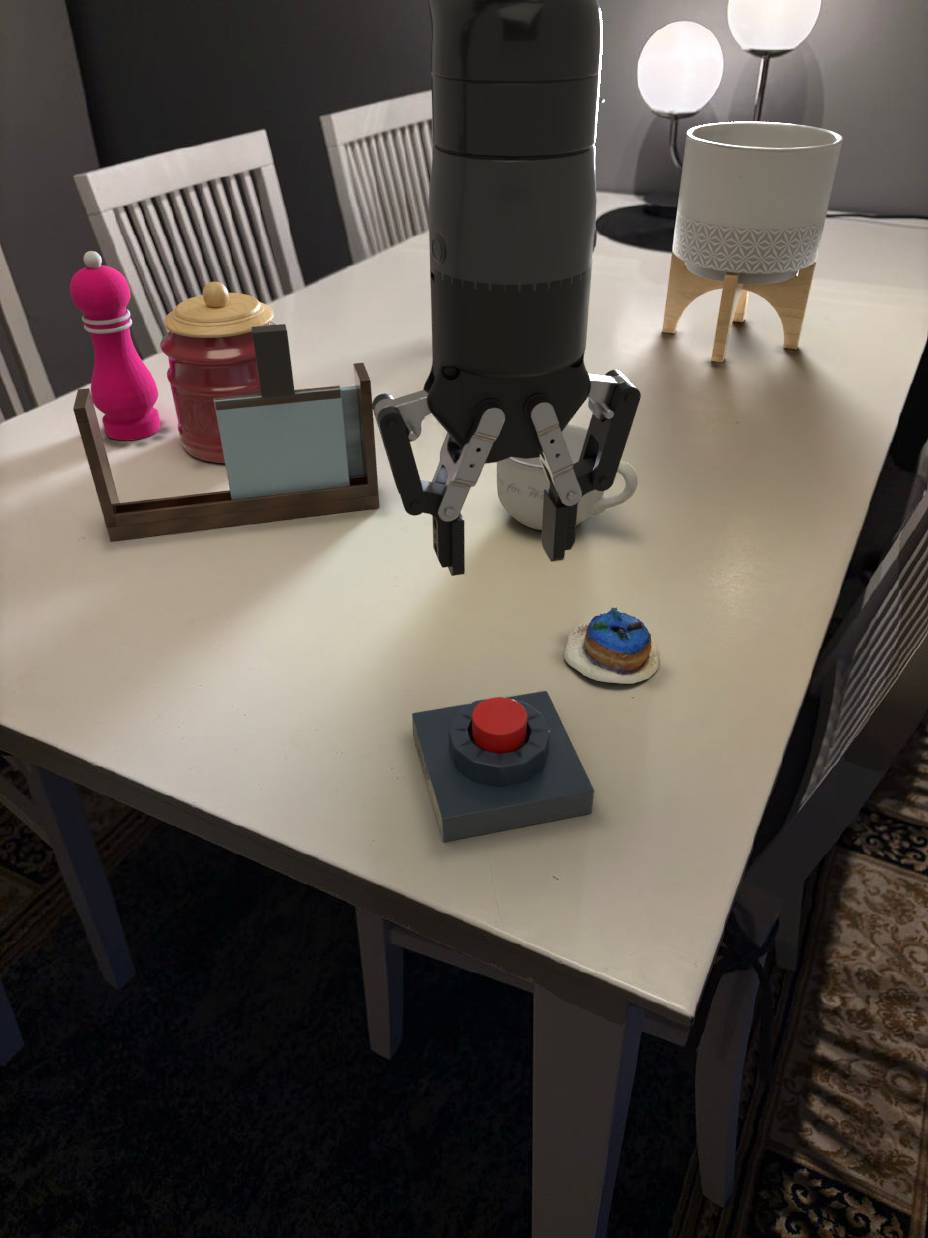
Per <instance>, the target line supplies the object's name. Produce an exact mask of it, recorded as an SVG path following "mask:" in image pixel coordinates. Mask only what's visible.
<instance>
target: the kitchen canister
mask: <svg viewBox="0 0 928 1238" xmlns="http://www.w3.org/2000/svg"><path fill="white" fill-rule="evenodd" d="M274 317H275V313H274V310H273V309H272V308H271V306H270V305H267V304H266V303H263V302H261V301H260V300H258V299H257V298H256V297H254V296H251V295H249V294H245V293H238V292H229V290H228V289H227V287H226V286H225V285H224V284H223V283H222V282H219V281H210V282H208V283H206V284H205V285H204V286H203V289H202V294H201V295H197V296H192V297H189V298H186V299H184V300H183V301H181V302H179V303H178V304H177V305H176V307H175V308H174V309H173V310H171V311H170V312H169V313H167V315H166V316H165V317H164V319H163V324H164V327H165V328H166V330H168V332H167V333H165V334H164V335H163V337H162V338H161V341H160V343H159V345H160V350H161V352H162V353H163V354H164V355H166V356H167V359H168V366H169V367H168V369H167V372H166V378H167V380H168V383H169V386H170V390H171V394H172V400H173V405H174V409H175V413H176V418H177V430H178V431H177V432H178V436H179V439H180V441H181V442H182V443H183V447H184V450H185V451H186V452H187V453H188V454H189V455H190V456H192V457H194V458H196V459H198V460H201V461H205V462H209V463H215V464H225V460H224V454H223V449H222V443H221V438H220V432H219V427H218V421H217V415H216V410H215V404H214V398H218V397H228V396H239V395H249V394H259V393H261V389H260V382H259V376H258V369H257V362H256V355H255V348H254V342H253V335H252V328H251V327H255V326H267V325H277V324H276V323H275V322H273V321H272V320H273V319H274Z"/></svg>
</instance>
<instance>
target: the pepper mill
mask: <svg viewBox="0 0 928 1238" xmlns="http://www.w3.org/2000/svg"><path fill="white" fill-rule="evenodd" d="M83 263H84V265H85V266H84V267H83V268H80V269H79V270H78V271H76V272H75V273H74V274H73V275H72V278H71V281H70V285H69V293H70V298H71V302H72V303H73V304H74V306H75V307H76V308H77V309H78V310H79V311H80V312H82V313H83V314H82V315H81V320H82V322H83V323H84V324H83V329H84V330H85V331H87V332H88V333H89V336H90V338H91V341H92V345H93V352H94V353H93V354H94V362H93V369H92V375H91V380H90V393H91V396H92V400H93V404H94V408H95V409H97V410H98V411H99V412H100V413H102V414H104V415H103V417H102V419H101V420H102V425H103V429H104V432H105V434H106V436H108V437H109V438H111V439H112V440H117V441H136V440H140V439H144V438H149V437H150V436H152V435H154V434H156V433H157V432H158V431H159V430H160V428H161V427H162V423H161V419H160V414H159V411H158V410H157V408H155V407H154V406H155V405H156V402H157V401H158V398H159V390H158V386H157V383H156V381H155V379H154V376H153V375H152V372H151V371H150V370H149V368H148V367H147V365H146V364H145V363H144V361H143V360H142V359H141V357H140V355H139V353H138V352H137V349H136V347H135V345H134V342H133V340H132V336H131V335H132V334H131V329H130V327H131V326H132V324H133V320H132V319H131V310H129V309H128V308H127V306H128V304H129V303H130V300H131V289H130V286H129V283H128V281H127V279H126V278H125V276H124V275H123V274H122V273H121V272H120V271H118V270H117V269H116V268H114V267H112V266H108V265H103V264H102V263H103V260H102V256H101V255H100V253H98V252H97V251H94V250H89V251H87V252H85V253H84V255H83Z"/></svg>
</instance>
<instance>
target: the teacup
mask: <svg viewBox="0 0 928 1238" xmlns="http://www.w3.org/2000/svg"><path fill="white" fill-rule="evenodd" d="M587 431H588V427H584V426H580V425H575V424H570V423H568V424H567V426H566V427H565V428H564V430H563V431H562V435H563V438H564V440H565V443H566V446H567V449H568V451H569V454H570V457H571V460H572V462H573V464H574V463H576V462H579V458H580V455H581V451H582V448H583V444H584V441H585V438H586V434H587ZM617 474H619V475H621V476H622V478H623V479H624V483H625V487H624V489H623V490H622V491H621V492H619V493H618V494H616V495H612V496H605V497H604V493H605V491H597V490H596V489H595V490H593V491H591V492H589V493H587V494H585V495H584V496H582V498H581V499H580V501H579V502H578V507H577V520H576V526H578V525H580V524H582V522H584V521H586V520H588V519H589V518H591V517H592V516H593V515H601V514H602V513H604V512H605V510H606V509H609V508H614V507H617V506H619V505H621V504H624V503H626V502H627V501H628V500H630V499H631V498H632V497H633V496H634V494H635V493H636V490H637V488H638V484H639V482H638V481H639V480H638V475H637V472H636V470H635V468H634V467H633V466H632V465H631V464H630V463H628V462H627V461H624V460H621V461H620V464H619V467H618V470H617ZM544 489H550V483H549V482H548V480H547V477H546V475H545V472H544V470H543V467H542V464H541V462H540V459H539V457H538V458H529V459H523V458H516V457H510V458H507V459H504V460H502V461H499V462H496V492H497V497H498V500H499V503H500V505H501V507H502V508H503V509H504V510H505V511H506V512H507V513H508V514H509V515H510V516H512V517H513V518H514V519H515V520H516V521H517V522H518V523H520V524H522V525H524V526H526V527H528V528H531V529H533V530H534V529H535V530H538V531H542V519H543V500H544Z"/></svg>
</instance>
